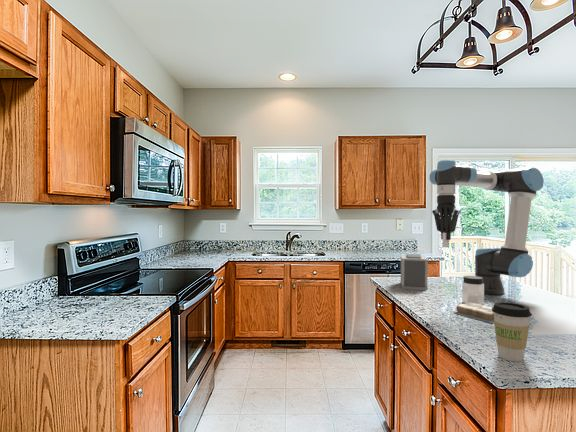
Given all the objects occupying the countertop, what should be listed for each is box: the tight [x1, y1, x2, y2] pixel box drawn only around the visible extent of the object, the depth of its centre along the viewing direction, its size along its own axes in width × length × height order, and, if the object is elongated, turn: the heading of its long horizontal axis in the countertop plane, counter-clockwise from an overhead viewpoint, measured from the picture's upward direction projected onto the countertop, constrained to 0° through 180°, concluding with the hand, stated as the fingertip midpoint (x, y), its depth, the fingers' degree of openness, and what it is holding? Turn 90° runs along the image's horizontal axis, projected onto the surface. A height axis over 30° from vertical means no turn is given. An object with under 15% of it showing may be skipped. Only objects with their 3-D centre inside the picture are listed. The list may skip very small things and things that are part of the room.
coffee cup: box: [492, 301, 533, 363], centre depth 103 cm, size 10×10×15 cm
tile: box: [456, 302, 494, 320], centre depth 146 cm, size 10×2×14 cm
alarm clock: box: [400, 253, 429, 291], centre depth 201 cm, size 18×13×18 cm
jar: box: [461, 275, 485, 305], centre depth 164 cm, size 9×8×12 cm
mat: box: [453, 311, 494, 325], centre depth 144 cm, size 16×16×1 cm
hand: (445, 247), depth 160 cm, fingers closed
